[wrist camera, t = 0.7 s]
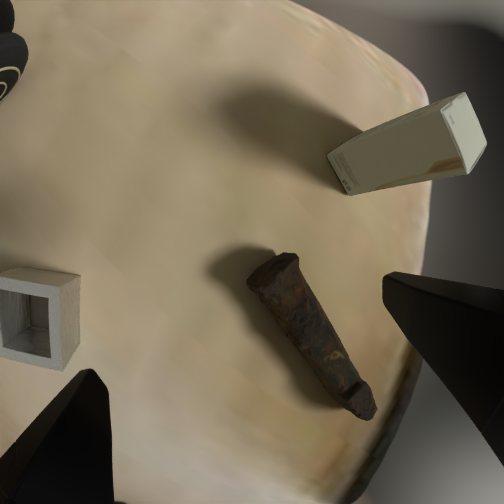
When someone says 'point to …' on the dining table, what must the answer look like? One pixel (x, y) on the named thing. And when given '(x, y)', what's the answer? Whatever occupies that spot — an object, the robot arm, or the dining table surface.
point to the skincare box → (412, 148)
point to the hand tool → (311, 331)
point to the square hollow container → (32, 337)
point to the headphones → (10, 51)
